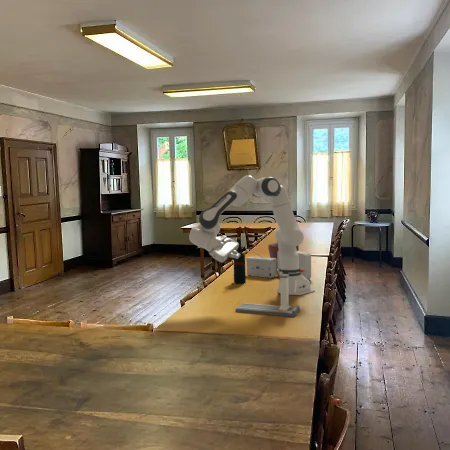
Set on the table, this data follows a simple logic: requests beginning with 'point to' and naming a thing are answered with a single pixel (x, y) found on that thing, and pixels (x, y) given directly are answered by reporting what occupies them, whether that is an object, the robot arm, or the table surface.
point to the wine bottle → (239, 266)
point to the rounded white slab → (301, 263)
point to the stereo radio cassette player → (261, 266)
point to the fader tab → (284, 292)
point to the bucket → (275, 250)
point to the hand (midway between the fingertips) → (239, 256)
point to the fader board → (267, 309)
